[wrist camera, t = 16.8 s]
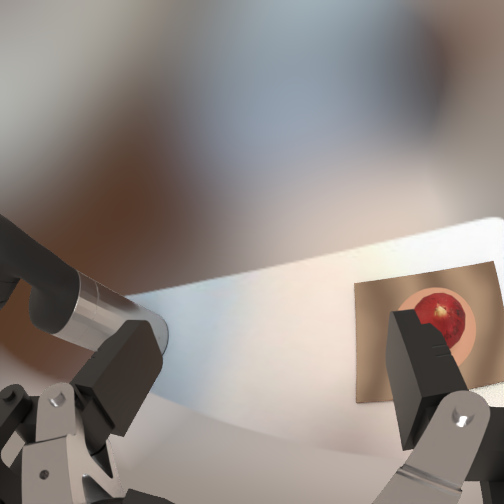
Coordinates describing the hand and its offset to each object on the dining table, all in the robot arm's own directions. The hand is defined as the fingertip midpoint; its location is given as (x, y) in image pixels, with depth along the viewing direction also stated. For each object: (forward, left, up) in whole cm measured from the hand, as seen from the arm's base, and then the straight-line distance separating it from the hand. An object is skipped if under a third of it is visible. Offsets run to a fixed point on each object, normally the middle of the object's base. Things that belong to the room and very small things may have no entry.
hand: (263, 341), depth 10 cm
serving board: (+5, +9, -27) cm, 29 cm away
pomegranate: (+5, +9, -26) cm, 28 cm away
